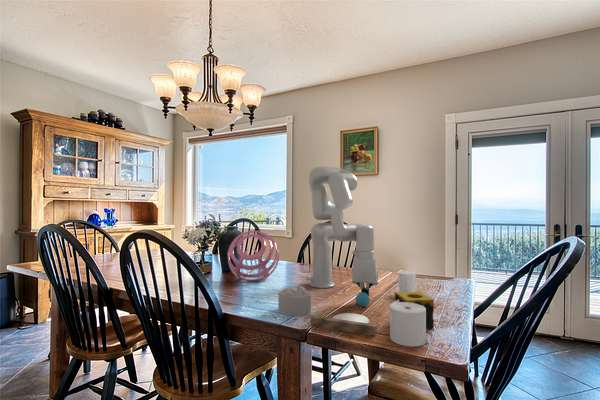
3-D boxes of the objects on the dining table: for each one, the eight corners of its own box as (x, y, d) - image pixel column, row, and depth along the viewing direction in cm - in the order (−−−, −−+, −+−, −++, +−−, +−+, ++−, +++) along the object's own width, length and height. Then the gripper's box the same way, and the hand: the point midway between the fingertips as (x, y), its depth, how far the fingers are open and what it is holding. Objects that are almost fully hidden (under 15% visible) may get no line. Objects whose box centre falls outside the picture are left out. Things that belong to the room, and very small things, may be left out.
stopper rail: (310, 326, 113) (310, 317, 113) (312, 324, 115) (312, 315, 115) (375, 336, 104) (375, 326, 104) (376, 334, 106) (376, 324, 106)
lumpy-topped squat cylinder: (292, 304, 137) (292, 283, 137) (317, 311, 128) (317, 289, 128) (274, 310, 129) (274, 288, 129) (299, 318, 120) (299, 294, 120)
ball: (357, 294, 138) (356, 307, 136) (355, 289, 134) (354, 303, 131) (370, 295, 137) (369, 308, 134) (369, 291, 132) (368, 304, 130)
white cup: (417, 297, 146) (417, 274, 146) (398, 296, 148) (398, 273, 148) (414, 292, 154) (414, 270, 154) (397, 291, 155) (397, 270, 155)
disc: (327, 323, 115) (327, 322, 115) (338, 311, 127) (338, 311, 127) (364, 329, 110) (364, 328, 110) (372, 316, 122) (372, 316, 122)
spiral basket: (242, 239, 202) (235, 216, 180) (285, 250, 198) (285, 228, 176) (224, 281, 187) (214, 262, 164) (270, 295, 183) (268, 277, 161)
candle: (393, 319, 119) (393, 291, 119) (420, 318, 120) (420, 291, 120) (405, 330, 109) (404, 300, 109) (434, 329, 110) (434, 299, 110)
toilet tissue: (412, 350, 94) (411, 315, 94) (379, 336, 104) (379, 304, 104) (433, 341, 100) (433, 308, 100) (400, 328, 110) (400, 298, 110)
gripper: (345, 255, 139) (345, 298, 138) (381, 257, 133) (381, 302, 133) (349, 252, 145) (350, 294, 145) (384, 254, 140) (384, 297, 139)
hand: (365, 298), depth 139 cm, fingers closed
